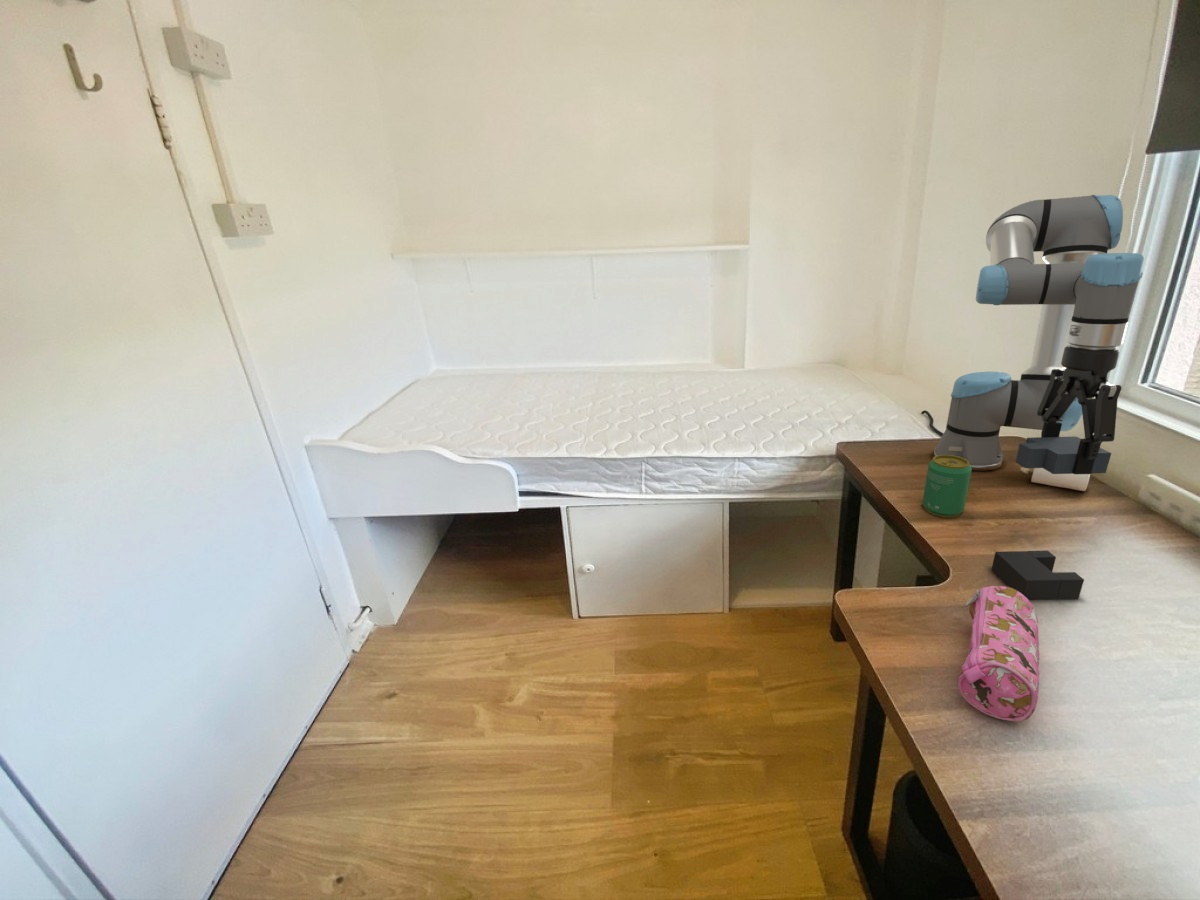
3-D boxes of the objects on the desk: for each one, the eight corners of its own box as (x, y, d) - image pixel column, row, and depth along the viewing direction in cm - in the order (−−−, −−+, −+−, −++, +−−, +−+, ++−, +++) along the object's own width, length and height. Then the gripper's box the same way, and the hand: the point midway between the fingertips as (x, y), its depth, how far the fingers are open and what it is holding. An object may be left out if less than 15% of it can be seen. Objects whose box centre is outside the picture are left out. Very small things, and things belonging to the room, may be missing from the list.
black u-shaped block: (991, 569, 102) (995, 551, 101) (1042, 569, 102) (1047, 550, 100) (1021, 600, 94) (1026, 580, 93) (1078, 599, 93) (1084, 579, 92)
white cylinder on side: (1084, 496, 125) (1093, 464, 122) (1029, 486, 131) (1036, 455, 128) (1085, 477, 133) (1094, 447, 130) (1034, 469, 139) (1041, 439, 136)
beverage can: (971, 513, 121) (981, 463, 117) (944, 521, 119) (953, 471, 115) (940, 498, 129) (948, 451, 124) (913, 506, 126) (921, 458, 122)
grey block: (1006, 456, 110) (1010, 437, 109) (1071, 455, 109) (1076, 436, 108) (1035, 474, 102) (1040, 454, 101) (1105, 473, 101) (1111, 453, 99)
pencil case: (961, 619, 91) (970, 574, 88) (1031, 638, 86) (1044, 591, 82) (950, 710, 75) (961, 658, 71) (1035, 740, 70) (1051, 686, 66)
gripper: (1030, 336, 108) (1007, 444, 116) (1118, 359, 88) (1083, 487, 96) (1071, 334, 107) (1045, 443, 115) (1169, 357, 87) (1130, 486, 95)
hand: (1062, 463), depth 105 cm, fingers closed on grey block, 9 cm apart
